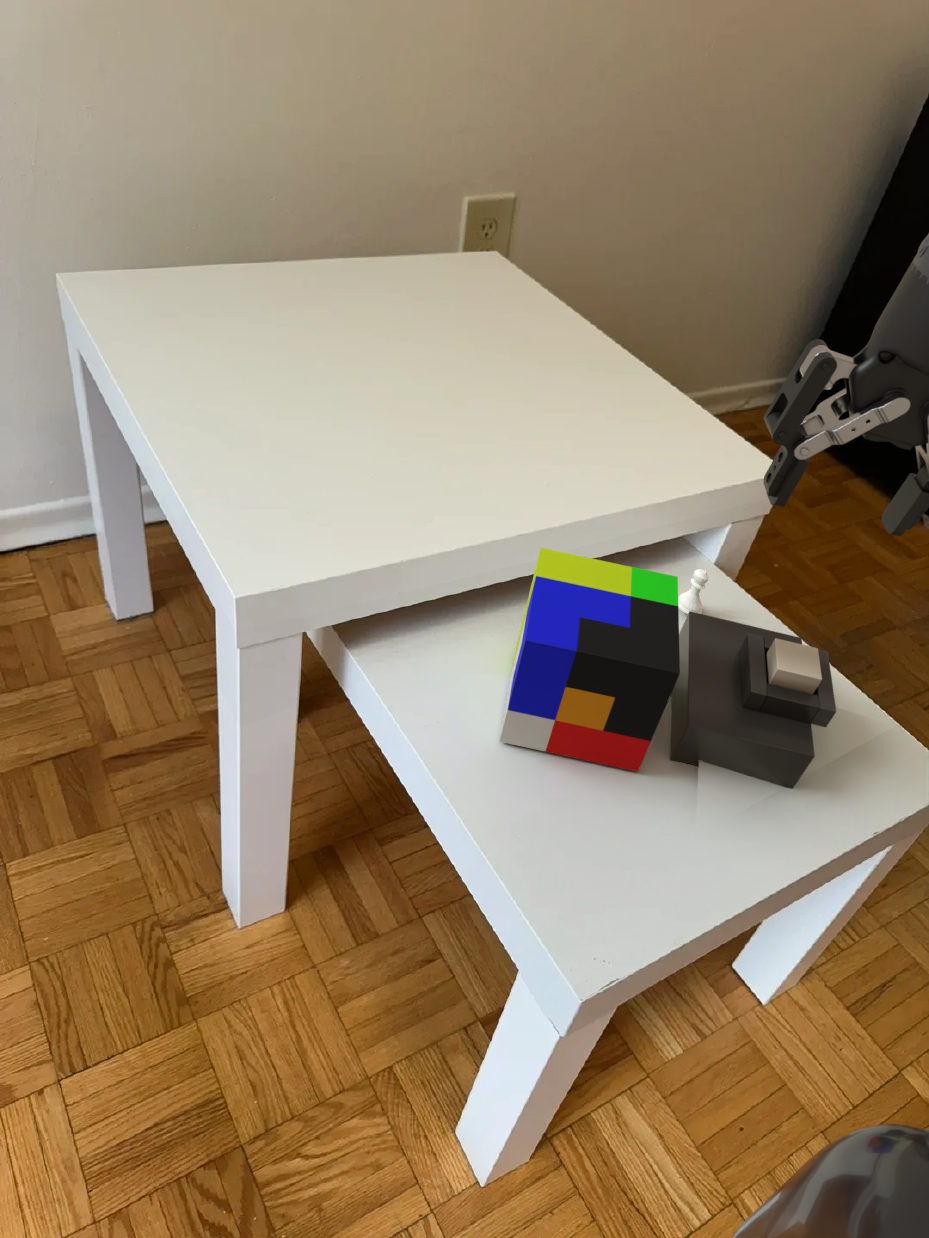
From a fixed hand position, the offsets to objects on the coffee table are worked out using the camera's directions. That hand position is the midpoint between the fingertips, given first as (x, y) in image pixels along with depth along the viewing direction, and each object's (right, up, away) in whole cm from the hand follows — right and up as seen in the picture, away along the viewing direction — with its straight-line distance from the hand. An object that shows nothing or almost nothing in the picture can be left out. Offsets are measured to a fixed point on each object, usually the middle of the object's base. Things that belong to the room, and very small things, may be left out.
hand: (832, 514), depth 62 cm
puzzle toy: (-16, -14, +8) cm, 23 cm away
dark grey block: (-4, -14, +10) cm, 18 cm away
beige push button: (-1, -11, +6) cm, 12 cm away
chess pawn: (-5, -6, +18) cm, 20 cm away
